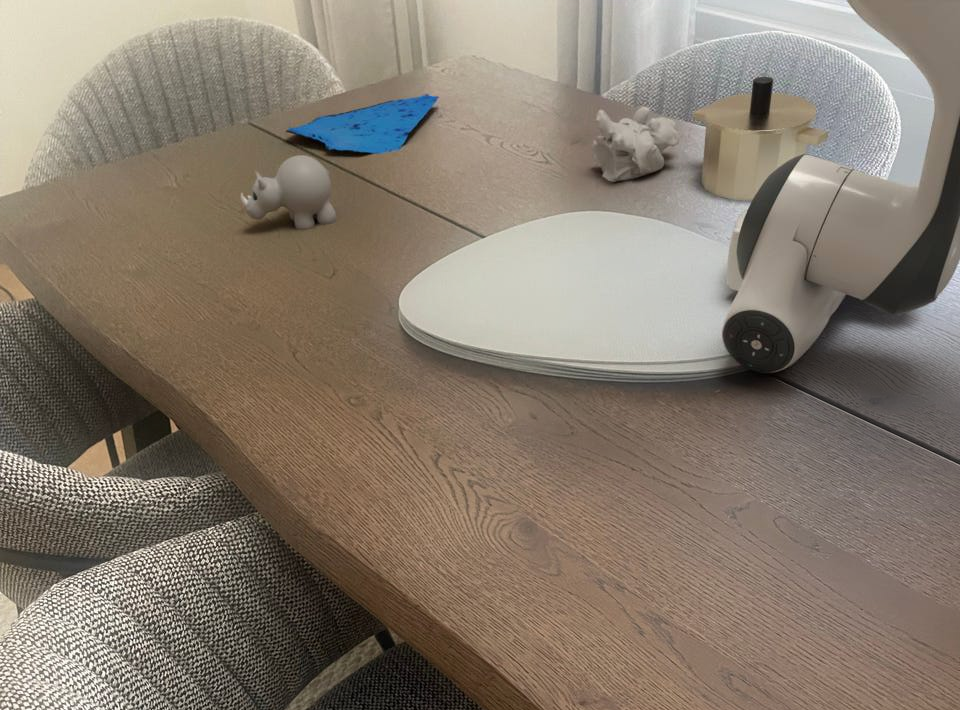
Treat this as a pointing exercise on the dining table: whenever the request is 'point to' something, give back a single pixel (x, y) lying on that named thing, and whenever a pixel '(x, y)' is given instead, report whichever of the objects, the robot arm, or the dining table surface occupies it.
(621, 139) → the figurine
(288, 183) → the chubby cartoon animal
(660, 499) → the dining table surface
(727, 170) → the pot
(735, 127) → the pot lid
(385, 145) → the shard
